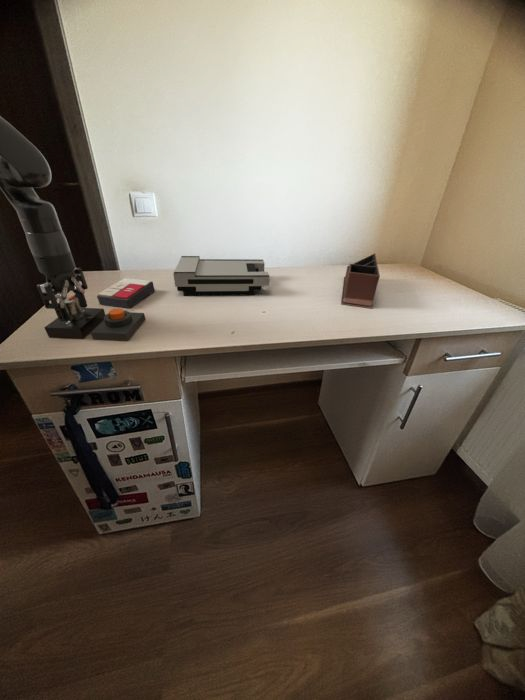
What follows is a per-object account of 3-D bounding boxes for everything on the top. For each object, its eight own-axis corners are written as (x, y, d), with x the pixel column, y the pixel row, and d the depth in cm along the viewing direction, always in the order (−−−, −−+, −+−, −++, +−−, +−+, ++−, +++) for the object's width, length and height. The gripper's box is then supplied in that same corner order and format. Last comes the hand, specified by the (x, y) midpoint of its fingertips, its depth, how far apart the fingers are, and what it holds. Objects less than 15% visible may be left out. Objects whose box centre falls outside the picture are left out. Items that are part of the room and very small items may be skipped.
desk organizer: (340, 304, 96) (347, 272, 90) (343, 277, 120) (349, 250, 114) (372, 309, 94) (381, 276, 88) (369, 280, 118) (376, 253, 111)
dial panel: (83, 339, 72) (79, 328, 70) (48, 337, 72) (43, 326, 70) (106, 317, 82) (103, 308, 80) (75, 316, 82) (72, 306, 80)
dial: (78, 320, 74) (72, 302, 71) (63, 320, 74) (56, 301, 71) (87, 314, 77) (81, 296, 74) (72, 313, 77) (66, 295, 74)
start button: (121, 320, 74) (119, 314, 73) (107, 320, 74) (106, 314, 73) (127, 314, 77) (125, 308, 76) (114, 314, 77) (112, 308, 76)
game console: (268, 295, 100) (269, 273, 96) (176, 296, 97) (173, 273, 92) (262, 276, 117) (263, 256, 113) (184, 276, 114) (181, 256, 109)
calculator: (95, 293, 87) (124, 276, 99) (99, 306, 90) (127, 287, 102) (126, 297, 86) (152, 279, 97) (130, 310, 88) (155, 290, 100)
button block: (128, 341, 72) (124, 327, 70) (93, 339, 72) (88, 325, 70) (145, 319, 82) (142, 307, 80) (115, 318, 82) (111, 305, 80)
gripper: (55, 243, 72) (76, 302, 81) (11, 258, 60) (42, 325, 69) (84, 244, 72) (102, 303, 81) (46, 260, 60) (72, 327, 69)
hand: (74, 313), depth 75 cm, fingers open, 7 cm apart
